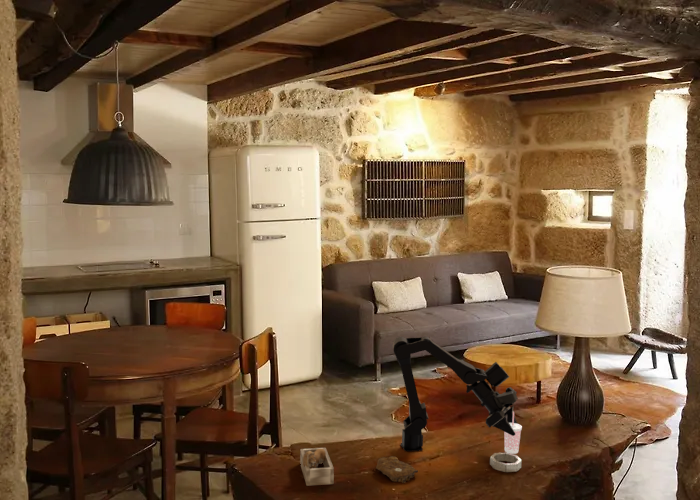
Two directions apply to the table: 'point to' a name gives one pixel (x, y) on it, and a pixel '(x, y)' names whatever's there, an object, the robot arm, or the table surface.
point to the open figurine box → (317, 470)
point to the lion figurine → (313, 458)
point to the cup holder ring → (505, 466)
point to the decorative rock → (395, 469)
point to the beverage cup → (513, 438)
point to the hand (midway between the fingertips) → (516, 432)
